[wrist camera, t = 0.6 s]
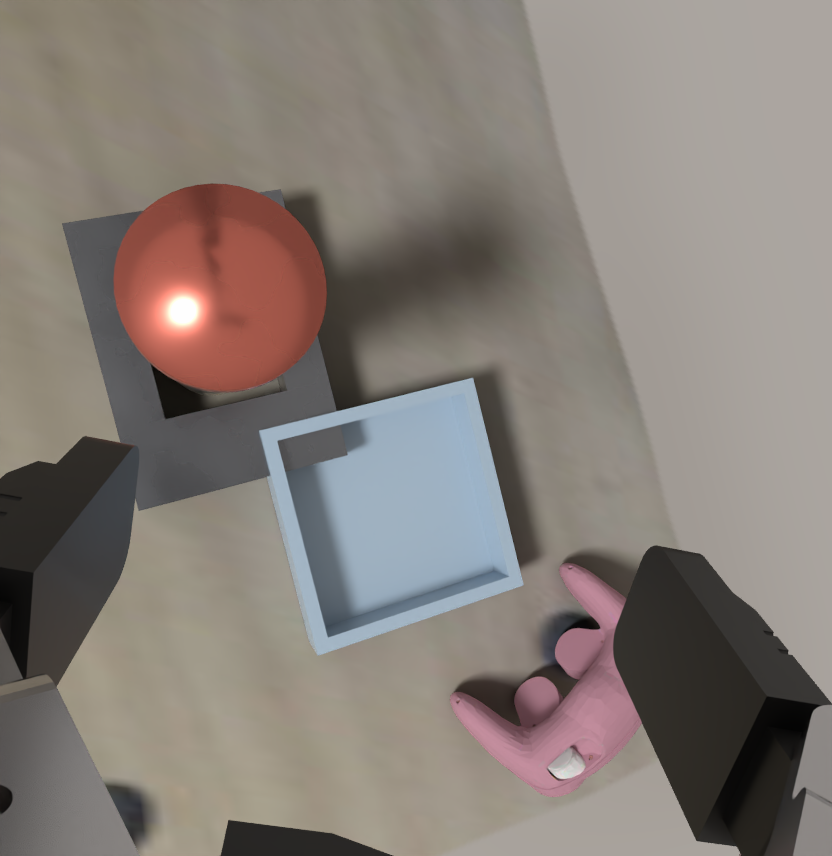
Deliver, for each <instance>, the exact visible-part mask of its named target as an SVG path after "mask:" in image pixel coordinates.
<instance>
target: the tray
mask: <svg viewBox="0 0 832 856" xmlns="http://www.w3.org/2000/svg"><path fill="white" fill-rule="evenodd" d="M337 425H340V426H341V430H342V434H343V438H344V441H345V445H346V449H347V453H348V455H347V456H343V457H339V458H335V459H332V460H328V461H324V462H320V463H317V464H313V465H309V466H305V467H302V468H298V469H294V470H290V471H287V472H285V469H284V465H283V462H282V458H281V454H280V450H279V446H278V442H277V441H278V440H282V439H286V438H290V437H294V436H298V435H302V434H306V433H310V432H314V431H318V430H322V429H325V428H329V427H333V426H337ZM259 433H260V437H261V441H262V444H263V448H264V452H265V456H266V460H267V464H268V468H269V472H270V475H271V476H268V477H267V480H268V484H269V487H270V491H271V495H272V499H273V503H274V507H275V511H276V514H277V518H278V522H279V526H280V530H281V534H282V538H283V542H284V545H285V549H286V553H287V557H288V561H289V565H290V569H291V572H292V576H293V580H294V584H295V588H296V592H297V596H298V600H299V603H300V607H301V611H302V615H303V619H304V623H305V627H306V631H307V634H308V638H309V642H310V644H311V645H312V647H313V648H314V650H315V652H316V653H317V655H321V654H324V653H327V652H330V651H333V650H336V649H339V648H342V647H344V646H347V645H350V644H353V643H356V642H359V641H362V640H365V639H368V638H371V637H374V636H377V635H380V634H382V633H385V632H388V631H391V630H394V629H397V628H400V627H403V626H406V625H409V624H412V623H415V622H418V621H420V620H423V619H426V618H429V617H432V616H435V615H438V614H441V613H444V612H447V611H450V610H453V609H456V608H458V607H461V606H464V605H467V604H470V603H473V602H476V601H479V600H482V599H485V598H488V597H491V596H494V595H496V594H499V593H502V592H505V591H508V590H511V589H514V588H517V587H520V586H523V581H522V577H521V572H520V568H519V564H518V560H517V556H516V552H515V548H514V544H513V540H512V536H511V531H510V527H509V523H508V519H507V515H506V511H505V507H504V503H503V499H502V495H501V490H500V486H499V482H498V478H497V474H496V470H495V466H494V462H493V458H492V454H491V449H490V445H489V441H488V437H487V433H486V429H485V425H484V421H483V417H482V413H481V408H480V404H479V400H478V396H477V392H476V388H475V384H474V380H473V378H470V379H466V380H462V381H458V382H454V383H450V384H446V385H442V386H438V387H433V388H429V389H425V390H421V391H417V392H413V393H409V394H405V395H401V396H397V397H393V398H389V399H385V400H381V401H377V402H373V403H369V404H365V405H361V406H357V407H353V408H349V409H345V410H341V411H337V412H333V413H329V414H325V415H321V416H317V417H313V418H309V419H304V420H300V421H296V422H292V423H288V424H284V425H280V426H276V427H272V428H268V429H264V430H260V431H259Z"/></svg>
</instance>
